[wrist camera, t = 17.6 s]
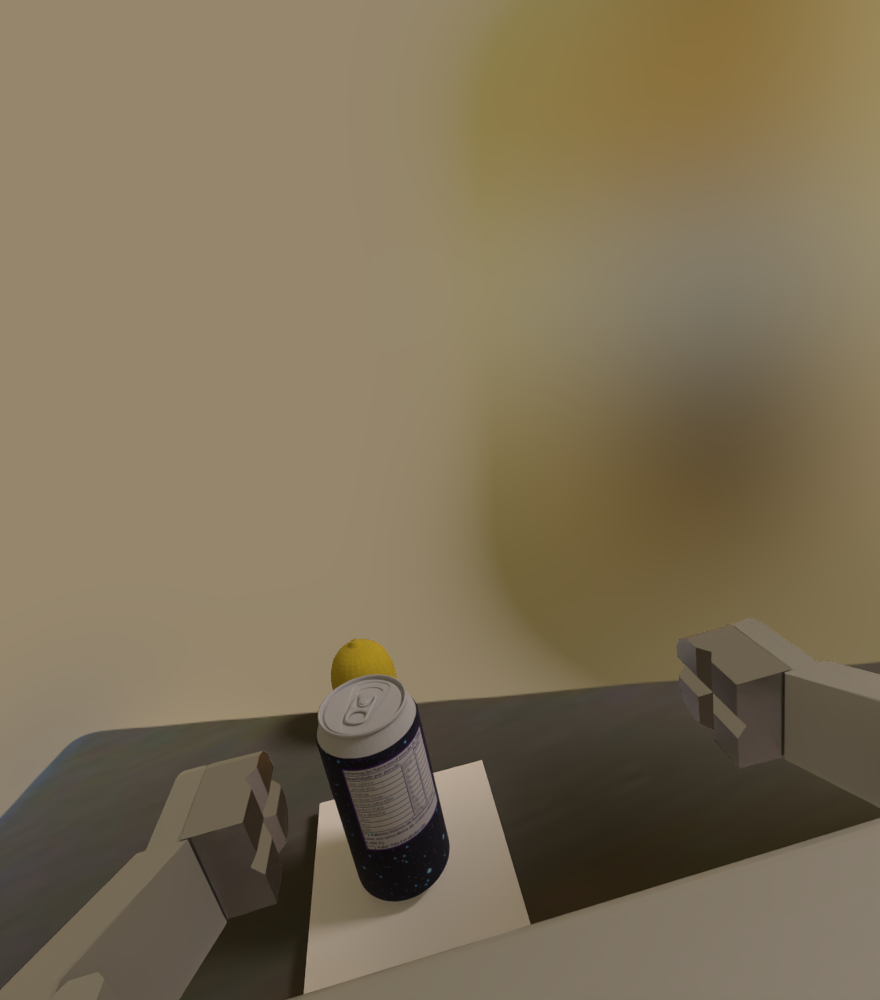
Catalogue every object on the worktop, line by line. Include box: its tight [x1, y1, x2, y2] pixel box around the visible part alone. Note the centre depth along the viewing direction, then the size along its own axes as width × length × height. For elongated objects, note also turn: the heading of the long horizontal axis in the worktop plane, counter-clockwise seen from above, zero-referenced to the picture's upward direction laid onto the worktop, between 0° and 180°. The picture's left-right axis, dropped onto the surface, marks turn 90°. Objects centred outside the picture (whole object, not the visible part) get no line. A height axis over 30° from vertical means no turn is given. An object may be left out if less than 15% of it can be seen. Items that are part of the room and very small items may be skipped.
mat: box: [304, 760, 531, 994], centre depth 33 cm, size 12×12×1 cm
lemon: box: [331, 639, 397, 690], centre depth 46 cm, size 6×6×8 cm
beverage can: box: [316, 674, 450, 902], centre depth 31 cm, size 6×6×12 cm
